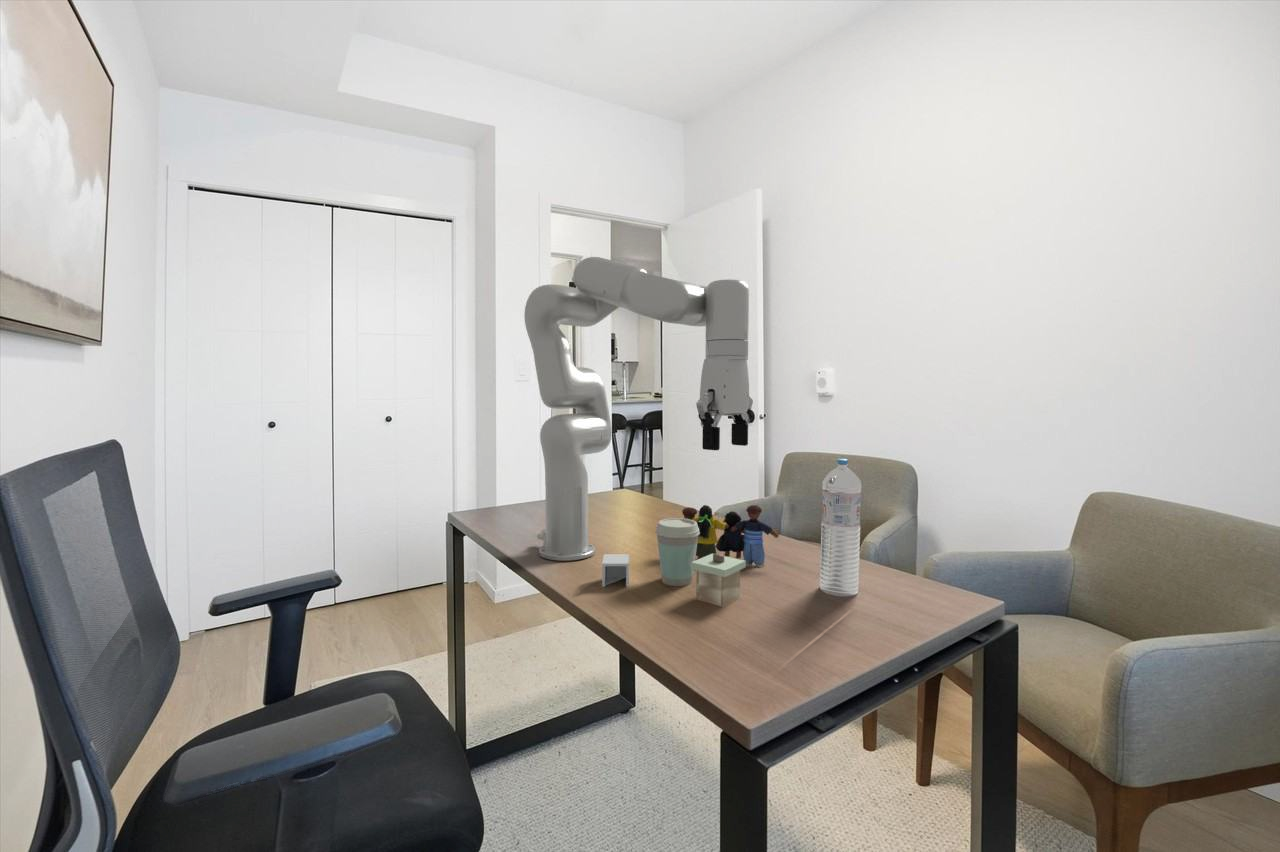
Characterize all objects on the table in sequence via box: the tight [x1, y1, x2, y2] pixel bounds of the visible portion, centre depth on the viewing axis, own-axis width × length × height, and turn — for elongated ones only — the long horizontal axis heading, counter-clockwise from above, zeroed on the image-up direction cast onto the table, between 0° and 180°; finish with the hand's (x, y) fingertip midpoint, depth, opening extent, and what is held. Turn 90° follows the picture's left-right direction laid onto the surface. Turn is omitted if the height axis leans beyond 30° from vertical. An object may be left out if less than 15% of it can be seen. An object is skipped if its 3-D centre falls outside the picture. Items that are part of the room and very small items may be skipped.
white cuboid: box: [601, 553, 630, 588], centre depth 115 cm, size 6×5×5 cm
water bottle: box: [819, 458, 862, 598], centre depth 110 cm, size 7×7×25 cm
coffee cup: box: [655, 517, 700, 587], centre depth 116 cm, size 8×8×12 cm
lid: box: [691, 552, 747, 577], centre depth 106 cm, size 7×7×2 cm
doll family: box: [681, 504, 779, 569], centre depth 130 cm, size 23×9×13 cm, turn 81°
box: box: [695, 570, 741, 608], centre depth 106 cm, size 6×6×6 cm
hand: (725, 447), depth 107 cm, fingers open, 9 cm apart
